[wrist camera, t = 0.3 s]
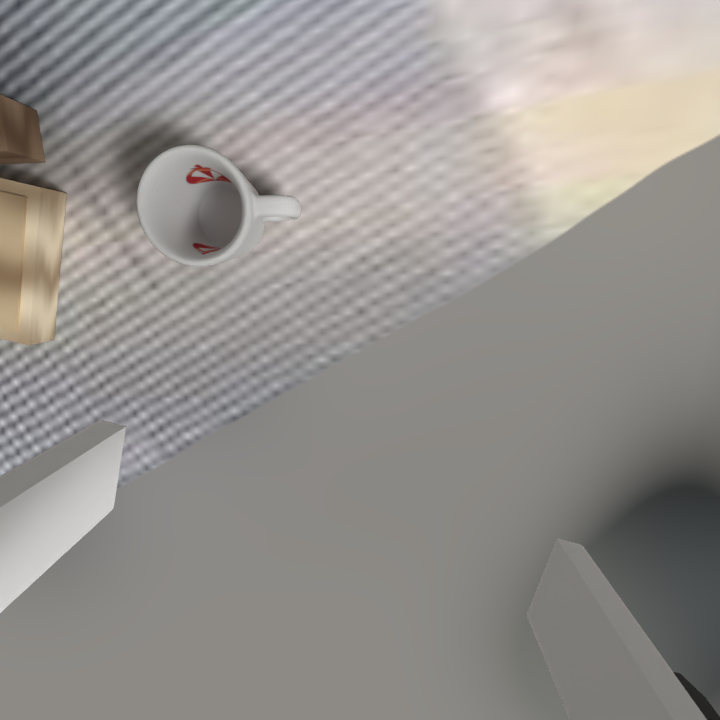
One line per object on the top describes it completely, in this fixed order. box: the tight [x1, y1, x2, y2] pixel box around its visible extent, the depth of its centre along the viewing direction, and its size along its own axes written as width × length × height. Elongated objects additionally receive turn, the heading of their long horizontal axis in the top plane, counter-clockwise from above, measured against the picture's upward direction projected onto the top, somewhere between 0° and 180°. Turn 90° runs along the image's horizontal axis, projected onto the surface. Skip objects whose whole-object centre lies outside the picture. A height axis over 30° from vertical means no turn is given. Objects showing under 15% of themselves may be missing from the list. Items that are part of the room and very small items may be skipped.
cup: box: [137, 145, 301, 267], centre depth 34 cm, size 11×8×8 cm
